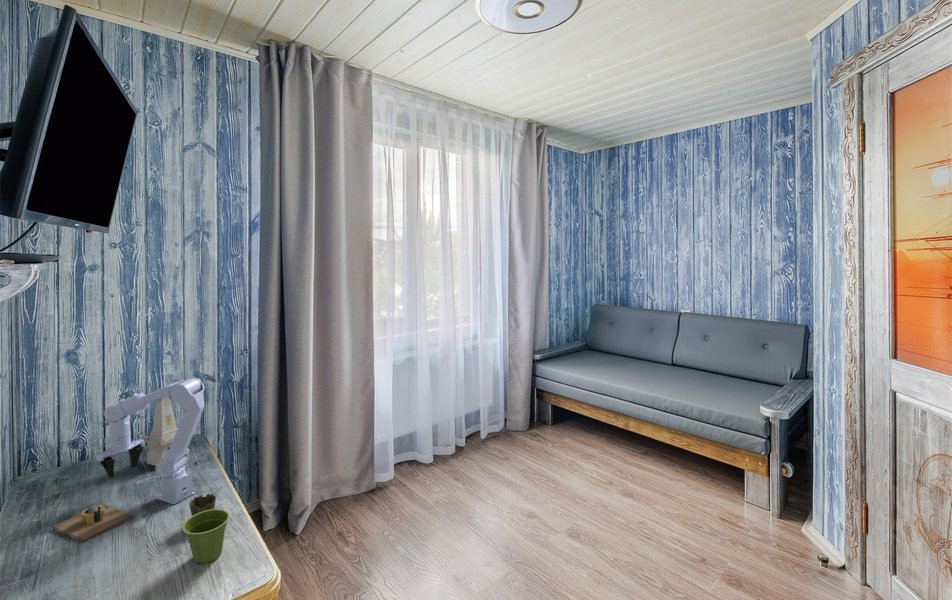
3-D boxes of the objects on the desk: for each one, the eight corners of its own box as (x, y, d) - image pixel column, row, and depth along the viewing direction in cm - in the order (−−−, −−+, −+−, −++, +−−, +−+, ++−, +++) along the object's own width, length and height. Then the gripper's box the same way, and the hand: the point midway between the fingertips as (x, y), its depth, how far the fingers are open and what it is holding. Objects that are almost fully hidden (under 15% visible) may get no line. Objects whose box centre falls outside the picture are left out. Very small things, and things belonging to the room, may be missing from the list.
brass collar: (78, 523, 142) (77, 512, 142) (97, 513, 147) (97, 503, 147) (88, 527, 140) (88, 516, 140) (108, 517, 145) (107, 507, 145)
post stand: (133, 517, 147) (132, 501, 147) (83, 542, 134) (82, 525, 134) (102, 506, 153) (101, 491, 152) (52, 529, 140) (51, 513, 139)
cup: (188, 531, 141) (187, 508, 140) (192, 518, 148) (191, 496, 147) (214, 526, 144) (214, 503, 143) (218, 513, 151) (217, 491, 150)
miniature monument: (162, 468, 180) (158, 398, 177) (145, 463, 183) (141, 394, 180) (186, 458, 189) (183, 390, 186) (170, 453, 193) (167, 387, 190)
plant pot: (174, 563, 127) (172, 527, 125) (212, 539, 138) (210, 505, 136) (203, 575, 122) (201, 537, 121) (239, 549, 133) (238, 514, 132)
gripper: (134, 426, 165) (136, 460, 167) (89, 441, 152) (92, 478, 153) (147, 429, 163) (149, 464, 164) (103, 445, 149) (105, 482, 151)
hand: (122, 471), depth 159 cm, fingers open, 7 cm apart
